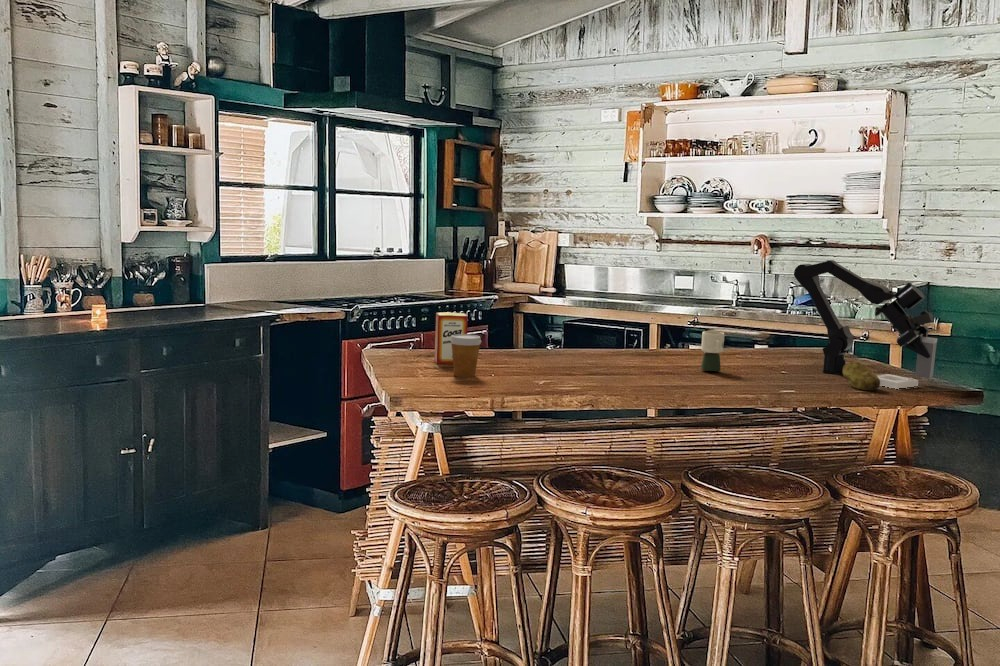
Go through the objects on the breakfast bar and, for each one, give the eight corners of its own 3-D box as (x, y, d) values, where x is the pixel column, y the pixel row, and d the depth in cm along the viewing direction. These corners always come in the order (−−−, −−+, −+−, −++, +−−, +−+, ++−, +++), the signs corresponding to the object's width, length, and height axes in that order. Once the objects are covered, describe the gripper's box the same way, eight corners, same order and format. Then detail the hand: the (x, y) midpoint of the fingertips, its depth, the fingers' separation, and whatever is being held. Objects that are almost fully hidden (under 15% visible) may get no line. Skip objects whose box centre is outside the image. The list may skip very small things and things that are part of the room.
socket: (866, 383, 314) (867, 374, 314) (887, 380, 320) (888, 372, 320) (896, 389, 305) (897, 381, 305) (917, 387, 311) (918, 378, 311)
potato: (856, 392, 298) (858, 366, 297) (837, 383, 311) (839, 358, 310) (882, 392, 299) (884, 366, 298) (862, 384, 312) (864, 359, 311)
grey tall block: (914, 376, 313) (918, 337, 312) (918, 374, 317) (922, 336, 315) (929, 378, 311) (934, 339, 309) (933, 376, 314) (937, 338, 313)
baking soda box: (463, 360, 324) (464, 312, 321) (465, 363, 317) (467, 314, 315) (434, 360, 322) (436, 311, 320) (436, 363, 316) (438, 314, 313)
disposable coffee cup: (473, 372, 304) (475, 333, 302) (484, 378, 295) (486, 338, 293) (444, 372, 300) (446, 334, 299) (454, 378, 292) (456, 339, 290)
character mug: (726, 375, 318) (729, 335, 316) (705, 374, 317) (708, 334, 315) (715, 368, 328) (718, 330, 326) (694, 368, 327) (697, 329, 326)
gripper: (911, 304, 305) (945, 344, 301) (925, 300, 320) (958, 338, 316) (882, 326, 311) (915, 365, 306) (898, 321, 326) (929, 359, 321)
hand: (930, 356), depth 312 cm, fingers closed on grey tall block, 4 cm apart
